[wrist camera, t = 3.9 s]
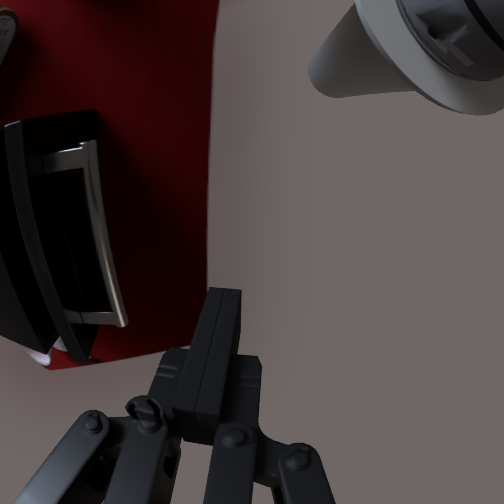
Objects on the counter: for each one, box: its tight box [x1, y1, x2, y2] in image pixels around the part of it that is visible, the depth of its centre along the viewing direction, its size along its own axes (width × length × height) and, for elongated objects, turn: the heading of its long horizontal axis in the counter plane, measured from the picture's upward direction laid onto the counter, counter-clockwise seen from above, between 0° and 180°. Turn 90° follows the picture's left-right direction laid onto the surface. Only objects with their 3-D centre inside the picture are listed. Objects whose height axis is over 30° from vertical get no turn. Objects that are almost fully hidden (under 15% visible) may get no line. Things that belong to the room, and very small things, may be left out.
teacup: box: [20, 337, 67, 365], centre depth 37 cm, size 12×12×6 cm
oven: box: [0, 128, 60, 355], centre depth 22 cm, size 16×20×14 cm
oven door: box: [4, 109, 129, 363], centre depth 22 cm, size 6×20×14 cm, turn 177°
